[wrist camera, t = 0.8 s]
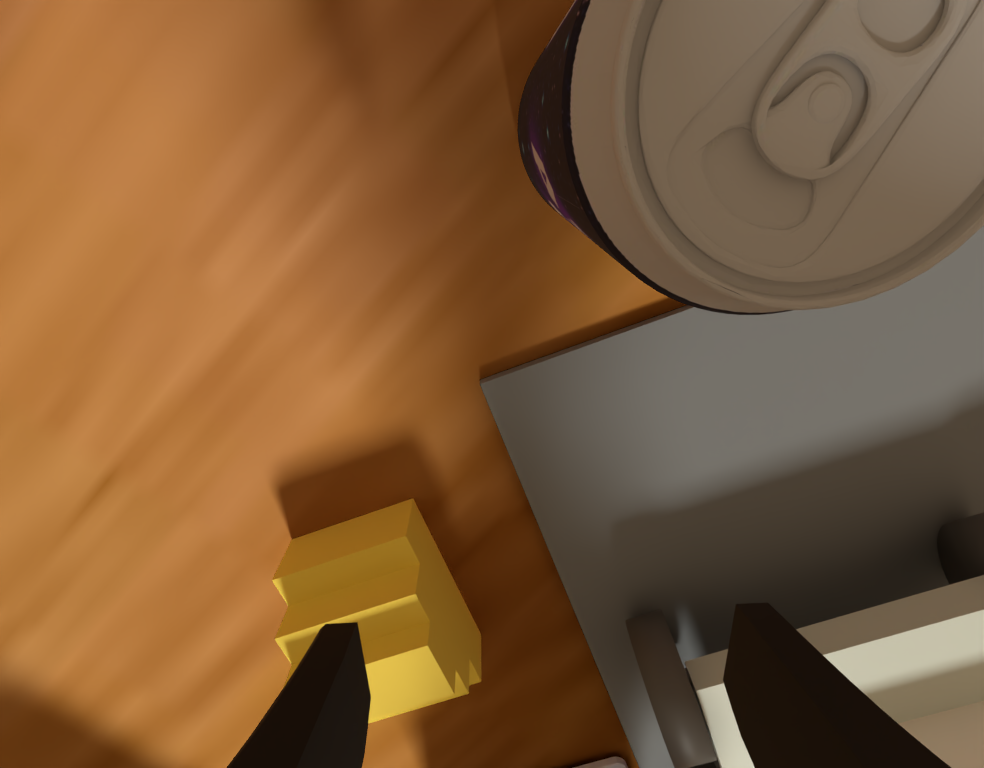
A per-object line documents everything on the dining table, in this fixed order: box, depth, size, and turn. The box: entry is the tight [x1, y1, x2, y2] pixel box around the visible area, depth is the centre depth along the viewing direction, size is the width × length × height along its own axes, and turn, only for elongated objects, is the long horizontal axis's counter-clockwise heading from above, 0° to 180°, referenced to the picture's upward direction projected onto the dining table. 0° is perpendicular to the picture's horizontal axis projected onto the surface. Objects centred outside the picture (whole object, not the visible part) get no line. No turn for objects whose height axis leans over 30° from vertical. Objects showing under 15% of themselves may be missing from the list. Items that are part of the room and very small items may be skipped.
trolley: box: [625, 512, 984, 768], centre depth 22 cm, size 13×14×6 cm
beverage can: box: [518, 0, 984, 315], centre depth 12 cm, size 6×6×12 cm
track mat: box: [480, 226, 984, 768], centre depth 23 cm, size 19×25×1 cm
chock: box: [272, 498, 481, 723], centre depth 21 cm, size 5×7×5 cm
